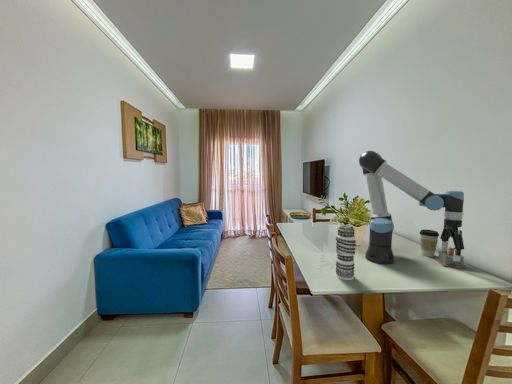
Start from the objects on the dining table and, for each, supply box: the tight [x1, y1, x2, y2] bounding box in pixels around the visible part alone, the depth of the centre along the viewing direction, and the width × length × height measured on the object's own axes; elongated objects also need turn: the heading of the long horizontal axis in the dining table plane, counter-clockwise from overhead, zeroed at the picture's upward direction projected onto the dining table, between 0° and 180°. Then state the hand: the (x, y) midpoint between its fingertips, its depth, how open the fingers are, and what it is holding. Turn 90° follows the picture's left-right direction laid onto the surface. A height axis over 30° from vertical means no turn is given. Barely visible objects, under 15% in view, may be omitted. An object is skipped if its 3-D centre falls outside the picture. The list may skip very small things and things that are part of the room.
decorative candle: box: [335, 224, 357, 281], centre depth 112 cm, size 9×9×25 cm
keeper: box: [434, 246, 467, 269], centre depth 128 cm, size 10×10×9 cm
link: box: [437, 250, 465, 266], centre depth 128 cm, size 8×8×5 cm
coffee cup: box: [418, 229, 440, 258], centre depth 142 cm, size 10×10×15 cm
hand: (450, 256), depth 128 cm, fingers open, 13 cm apart
